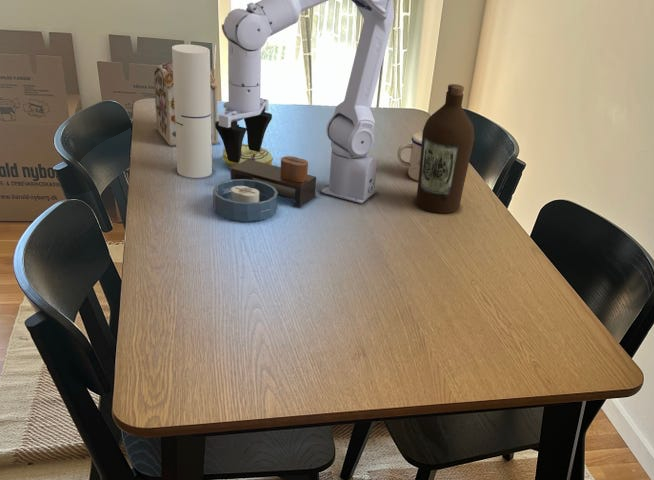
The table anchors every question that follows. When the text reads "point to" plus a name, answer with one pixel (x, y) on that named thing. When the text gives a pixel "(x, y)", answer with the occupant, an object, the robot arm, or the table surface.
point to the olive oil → (445, 155)
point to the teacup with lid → (413, 155)
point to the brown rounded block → (294, 169)
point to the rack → (276, 181)
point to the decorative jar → (166, 104)
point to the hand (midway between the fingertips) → (244, 155)
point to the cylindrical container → (192, 110)
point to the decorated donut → (250, 156)
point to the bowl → (241, 209)
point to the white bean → (244, 194)
